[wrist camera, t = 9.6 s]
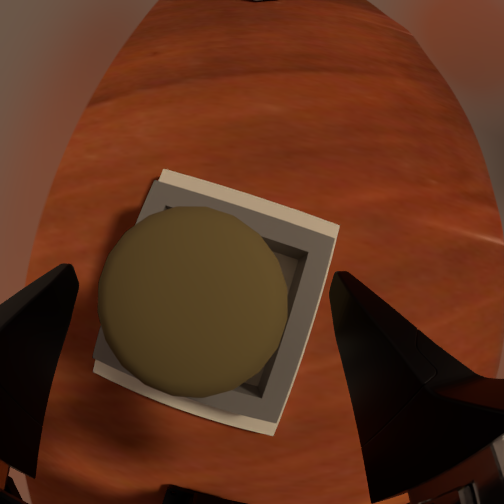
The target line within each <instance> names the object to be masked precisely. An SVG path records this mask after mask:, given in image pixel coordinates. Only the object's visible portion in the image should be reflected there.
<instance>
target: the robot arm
mask: <svg viewBox="0 0 504 504" xmlns="http://www.w3.org/2000/svg"><path fill="white" fill-rule="evenodd" d="M78 290H79V282H78V279H77V276H76V273H75V270H74V267H73V266H72V265H71V264H60V265H59V266H57V267H55V268H54V269H52V270H51V271H49V272H48V273H46V274H44V275H43V276H41V277H40V278H38V279H37V280H35V281H34V282H32V283H31V284H29V285H28V286H26V287H25V288H23V289H22V290H20V291H19V292H18V293H16V294H15V295H14V296H12V297H11V298H9V299H8V300H6V301H5V302H4V303H2V304H1V305H0V504H28V503H26V502H24V501H23V500H22V498H21V496H20V494H19V492H18V490H17V488H16V486H15V484H14V481H13V479H12V478H11V477H9V476H8V474H9V469H10V467H12V468H13V469H15V470H17V471H19V472H21V473H23V474H25V475H27V476H29V477H32V478H34V479H35V476H36V468H37V460H38V452H39V445H40V439H41V433H42V426H43V421H44V416H45V411H46V407H47V402H48V398H49V393H50V389H51V385H52V381H53V377H54V374H55V370H56V366H57V363H58V359H59V356H60V353H61V349H62V346H63V343H64V340H65V337H66V334H67V331H68V328H69V324H70V321H71V317H72V313H73V309H74V305H75V301H76V297H77V293H78ZM329 298H330V304H331V311H332V318H333V325H334V331H335V337H336V341H337V345H338V349H339V352H340V356H341V360H342V364H343V368H344V372H345V376H346V380H347V385H348V389H349V393H350V397H351V402H352V406H353V411H354V415H355V420H356V424H357V429H358V434H359V439H360V444H361V447H362V448H361V449H362V455H363V460H364V465H365V471H366V476H367V482H368V488H369V494H370V500H371V503H372V504H373V503H377V502H380V501H383V500H387V499H390V498H393V497H396V496H399V495H402V494H405V493H408V495H409V500H410V503H407V504H504V379H493V378H486V377H483V376H480V375H478V374H476V373H474V372H473V371H472V370H470V369H469V368H468V367H466V366H465V365H464V364H462V363H461V362H459V361H458V360H457V359H455V358H454V357H453V356H451V355H450V354H449V353H447V352H446V351H445V350H443V349H442V348H441V347H439V346H438V345H437V344H435V343H434V342H433V341H432V340H431V339H429V338H428V337H427V336H426V335H425V334H423V333H422V332H421V331H420V330H417V328H416V327H415V326H414V325H413V324H412V323H410V322H409V321H408V320H407V319H406V318H404V317H403V316H402V315H401V314H400V313H398V312H397V311H396V310H395V309H393V308H392V307H391V306H390V305H389V304H387V303H386V302H385V301H384V300H383V299H381V298H380V297H379V296H378V295H376V294H375V293H374V292H373V291H371V290H370V289H369V288H368V287H366V286H365V285H364V284H363V283H361V282H360V281H359V280H358V279H356V278H355V277H354V276H353V275H351V274H350V273H349V272H347V271H337V272H335V274H334V276H333V280H332V283H331V287H330V291H329ZM172 491H175V492H176V493H173V492H172ZM162 504H245V503H240V502H235V501H230V500H226V499H222V498H217V497H213V496H209V495H205V494H202V493H197V492H194V491H190V490H187V489H184V488H181V487H177V486H174V485H172V486H169V487H168V488H167V490H166V494H165V497H164V500H163V503H162Z"/></svg>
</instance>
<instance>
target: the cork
mask: <svg viewBox="0 0 504 504" xmlns="http://www.w3.org/2000/svg"><path fill="white" fill-rule="evenodd" d="M98 315H99V319H100V323H101V327H102V330H103V334H104V337H105V340H106V342H107V344H108V345H109V347H110V349H111V350H112V352H113V353H114V355H115V356H116V358H117V359H118V361H119V362H120V364H121V365H122V366H123V367H124V368H125V369H126V370H127V371H129V372H130V373H131V374H132V375H133V376H135V377H136V378H137V379H138V380H139V381H141V382H142V383H143V384H144V385H146V386H149V387H151V388H154V389H156V390H159V391H161V392H164V393H166V394H169V395H171V396H179V397H194V398H205V397H209V396H212V395H216V394H220V393H224V392H227V391H231V390H233V389H235V388H237V387H238V386H240V385H241V384H243V383H244V382H246V381H247V380H248V379H250V378H251V377H253V376H254V375H256V374H257V373H259V372H260V371H261V369H262V368H263V367H264V366H265V364H266V363H267V362H268V360H269V359H270V358H271V356H272V355H273V354H274V352H275V351H276V350H277V348H278V346H279V343H280V340H281V337H282V334H283V331H284V328H285V325H286V322H287V319H288V303H287V285H286V282H285V279H284V276H283V273H282V270H281V267H280V264H279V261H278V259H277V257H276V256H275V255H274V253H273V252H272V251H271V249H270V248H269V247H268V245H267V244H266V242H265V241H264V240H263V238H262V237H261V236H260V234H259V233H257V232H256V231H254V230H253V229H252V228H250V227H249V226H248V225H246V224H245V223H243V222H242V221H241V220H239V219H238V218H236V217H235V216H233V215H230V214H227V213H224V212H221V211H218V210H215V209H212V208H209V207H199V206H177V207H173V208H170V209H167V210H164V211H161V212H158V213H154V214H151V215H149V216H147V217H146V218H144V219H143V220H142V221H140V222H139V223H137V224H136V225H135V226H133V227H132V228H130V229H129V230H128V231H126V232H125V233H124V235H123V236H122V237H121V239H120V240H119V241H118V243H117V244H116V245H115V247H114V248H113V249H112V251H111V252H110V253H109V255H108V257H107V260H106V263H105V266H104V268H103V271H102V274H101V277H100V280H99V286H98Z"/></svg>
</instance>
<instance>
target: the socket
mask: <svg viewBox="0 0 504 504" xmlns="http://www.w3.org/2000/svg"><path fill="white" fill-rule="evenodd" d="M177 206H199V207H209V208H212V209H215V210H218V211H221V212H224V213H227V214H230V215H233V216H235V217H236V218H238V219H239V220H241V221H242V222H243V223H245V224H246V225H248V226H249V227H250V228H252V229H253V230H254V231H256V232H257V233H259V234H260V236H261V237H262V238H263V240H264V241H265V242H266V244H267V245H268V247H269V248H270V249H271V251H272V252H273V253H274V255H275V256H276V257H277V259H278V261H279V264H280V267H281V270H282V273H283V276H284V279H285V282H286V285H287V303H288V319H287V322H286V325H285V328H284V331H283V334H282V337H281V340H280V343H279V346H278V348H277V350H276V351H275V352H274V354H273V355H272V356H271V358H270V359H269V360H268V362H267V363H266V364H265V366H264V367H263V368H262V369H261V371H260V372H259V373H257V374H256V375H254V376H253V377H251V378H250V379H248V380H247V381H246V382H244V383H243V384H241V385H240V386H238V387H237V388H235V389H233V390H231V391H227V392H224V393H220V394H216V395H212V396H209V397H205V398H194V397H179V396H171V395H169V394H166V393H164V392H161V391H159V390H156V389H154V388H151V387H149V386H146V385H144V384H143V383H142V382H141V381H139V380H138V379H137V378H136V377H135V376H133V375H132V374H131V373H130V372H129V371H127V370H126V369H125V368H124V367H123V366H122V365H121V364H120V362H119V361H118V359H117V358H116V356H115V355H114V353H113V352H112V350H111V349H110V347H109V345H108V344H107V342H106V340H105V337H104V334H103V330H102V327H101V326H100V330H99V334H98V337H97V341H96V345H95V349H94V353H93V357H92V358H94V359H96V360H95V364H94V368H93V372H94V373H96V374H98V375H100V376H102V377H104V378H106V379H108V380H110V381H112V382H115V383H117V384H119V385H121V386H123V387H125V388H128V389H130V390H132V391H134V392H137V393H139V394H141V395H144V396H146V397H149V398H151V399H154V400H156V401H159V402H161V403H164V404H166V405H169V406H172V407H174V408H177V409H180V410H183V411H186V412H188V413H191V414H194V415H197V416H200V417H204V418H207V419H210V420H213V421H217V422H220V423H223V424H227V425H230V426H234V427H238V428H242V429H245V430H249V431H254V432H258V433H262V434H267V435H271V436H274V433H275V431H276V428H277V425H278V423H279V420H280V418H281V415H282V413H283V410H284V407H285V405H286V402H287V399H288V397H289V394H290V391H291V388H292V386H293V383H294V380H295V377H296V374H297V371H298V368H299V366H300V363H301V360H302V357H303V354H304V351H305V348H306V344H307V341H308V338H309V335H310V332H311V329H312V326H313V322H314V319H315V316H316V312H317V309H318V306H319V302H320V299H321V295H322V292H323V288H324V285H325V281H326V277H327V274H328V270H329V266H330V263H331V259H332V255H333V251H334V247H335V243H336V239H337V235H338V231H339V227H340V225H337V224H334V223H332V222H329V221H326V220H323V219H320V218H318V217H315V216H312V215H309V214H306V213H304V212H301V211H298V210H295V209H292V208H289V207H286V206H283V205H280V204H277V203H274V202H271V201H268V200H265V199H262V198H259V197H256V196H253V195H250V194H247V193H244V192H241V191H237V190H234V189H231V188H228V187H225V186H221V185H218V184H215V183H211V182H208V181H205V180H201V179H198V178H195V177H191V176H188V175H184V174H181V173H177V172H174V171H170V170H166V169H163V172H162V174H161V176H160V178H159V180H158V181H156V180H154V182H153V185H152V187H151V189H150V191H149V194H148V196H147V198H146V200H145V203H144V205H143V207H142V210H141V212H140V215H139V217H138V219H137V222H136V224H137V223H139V222H140V221H142V220H143V219H144V218H146V217H147V216H149V215H151V214H154V213H158V212H161V211H164V210H167V209H170V208H173V207H177ZM136 224H135V225H136Z"/></svg>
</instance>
